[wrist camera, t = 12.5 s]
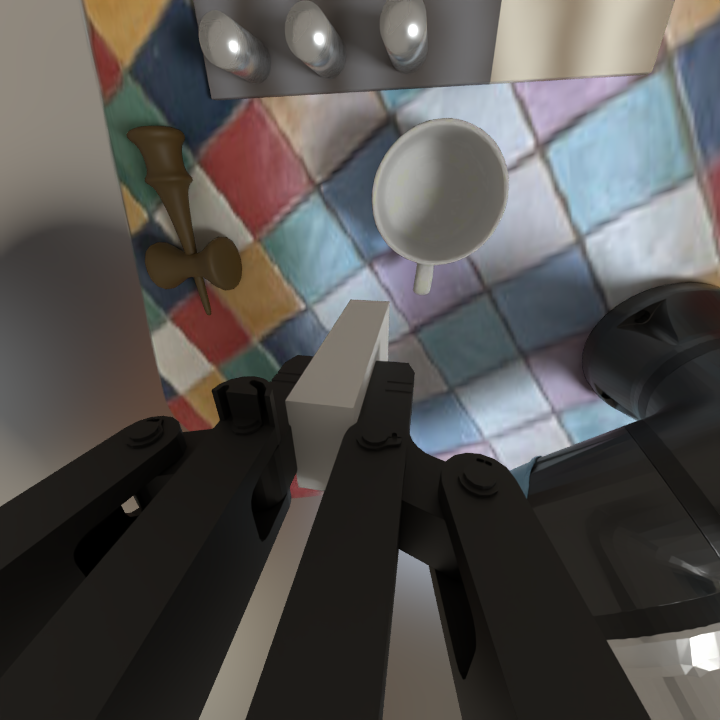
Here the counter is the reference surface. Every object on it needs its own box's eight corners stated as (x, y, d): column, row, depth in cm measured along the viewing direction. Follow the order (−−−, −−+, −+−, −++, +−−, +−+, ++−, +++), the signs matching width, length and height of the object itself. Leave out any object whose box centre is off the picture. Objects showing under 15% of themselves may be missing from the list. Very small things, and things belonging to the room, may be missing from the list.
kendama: (213, 125, 35) (255, 307, 44) (138, 136, 37) (192, 307, 46) (173, 115, 30) (229, 324, 39) (89, 129, 32) (161, 323, 41)
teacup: (402, 114, 31) (394, 98, 24) (515, 148, 31) (538, 142, 24) (364, 259, 38) (348, 279, 31) (454, 288, 38) (458, 314, 31)
